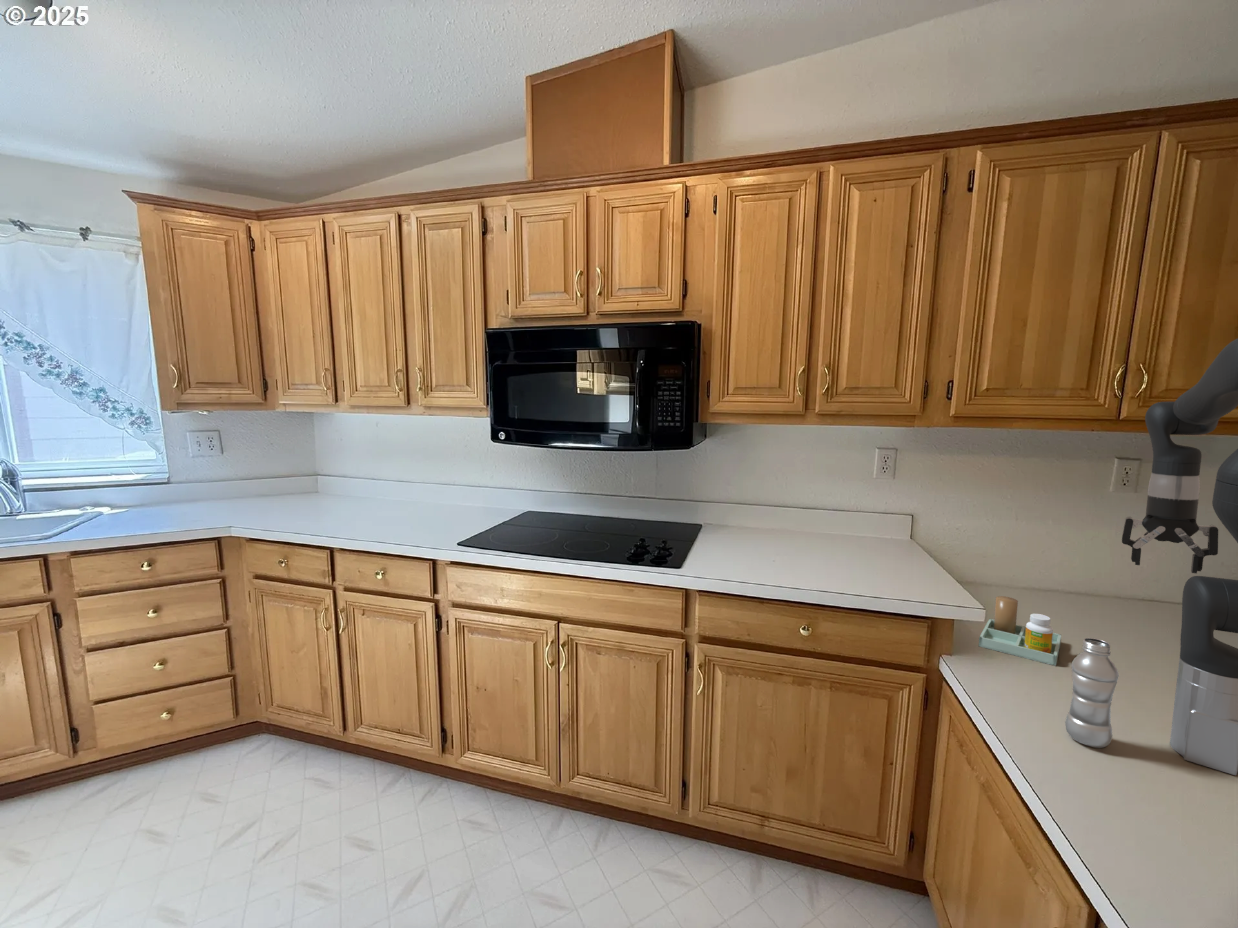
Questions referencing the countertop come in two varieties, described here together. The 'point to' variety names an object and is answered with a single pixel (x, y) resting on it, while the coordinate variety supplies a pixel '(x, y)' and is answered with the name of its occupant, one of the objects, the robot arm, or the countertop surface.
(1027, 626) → the supplement bottle
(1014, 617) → the tan cylinder
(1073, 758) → the countertop surface
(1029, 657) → the tray
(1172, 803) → the countertop surface
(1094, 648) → the plastic bottle
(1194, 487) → the robot arm
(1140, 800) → the countertop surface
